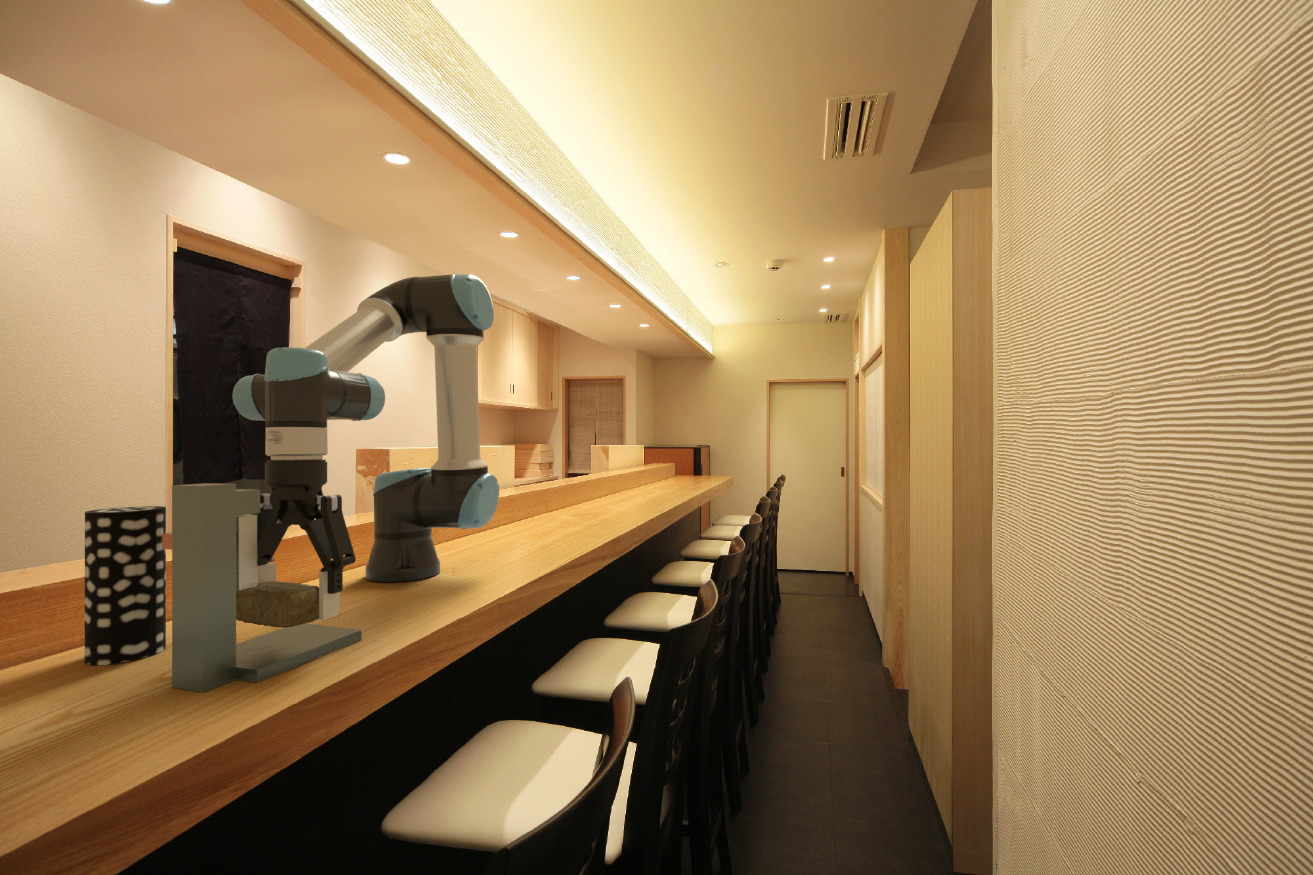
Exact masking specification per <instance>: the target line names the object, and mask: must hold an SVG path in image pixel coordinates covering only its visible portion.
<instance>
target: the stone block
mask: <svg viewBox="0 0 1313 875" xmlns="http://www.w3.org/2000/svg"><path fill="white" fill-rule="evenodd" d="M317 620H320V619H319V585H318V586H317V585H311V584H310V585H309V584H303V583H296V582H287V581H286V582H285V581H277V580H276V581H269V582H262V583H257V586H255V587H251V588H247V589H243V590H236V621H237V622H243V623H245V624H252V625H257V626H264V627H266V626H267V627H272V628H287V627H294V626H297V625H301V624H305V623H306V624H311V623H312V622H315V621H317Z"/></svg>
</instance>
